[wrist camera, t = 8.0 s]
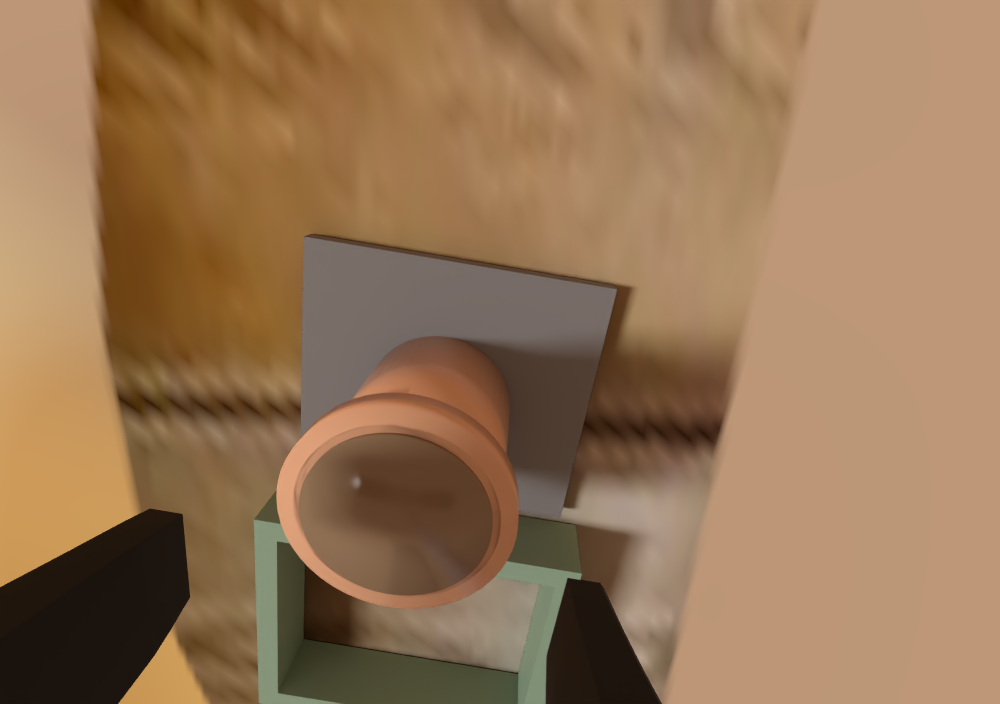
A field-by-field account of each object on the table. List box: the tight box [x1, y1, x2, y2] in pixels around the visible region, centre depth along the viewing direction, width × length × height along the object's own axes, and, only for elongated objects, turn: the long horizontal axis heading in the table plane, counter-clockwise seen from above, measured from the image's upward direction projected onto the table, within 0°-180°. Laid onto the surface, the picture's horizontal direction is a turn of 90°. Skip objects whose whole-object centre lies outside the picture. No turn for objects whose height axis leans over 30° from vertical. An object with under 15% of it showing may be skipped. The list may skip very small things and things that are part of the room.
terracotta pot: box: [276, 336, 519, 609], centre depth 15 cm, size 6×6×6 cm
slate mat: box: [301, 234, 617, 518], centre depth 18 cm, size 9×10×1 cm
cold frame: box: [254, 490, 582, 704], centre depth 20 cm, size 10×12×2 cm
